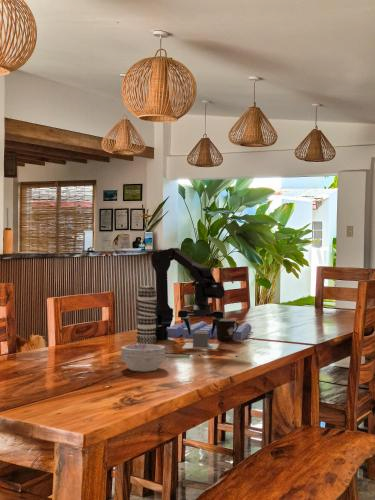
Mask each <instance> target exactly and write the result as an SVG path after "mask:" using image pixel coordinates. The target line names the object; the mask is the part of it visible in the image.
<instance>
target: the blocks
mask: <svg viewBox="0 0 375 500" xmlns="http://www.w3.org/2000/svg"><path fill="white" fill-rule="evenodd" d="M212 324H213V323H210V324H208V323H207V322H206V321H203V320H202V321H200V322H197V323H195V324H192V323H190V327H191V334H190V335H189V332H188V329H187V326H186V323H185V321H182V323H177V324H174V325H172V326H170V327H167V331H168V339H178V338H179V337H181V336H182V339H193V333H194V332H195V331H207V332H209V340H211V339H212V338H213V339H214V340H217V330H216V326H215V329H214V332H213V335H211V332H212ZM236 328H237V324H236V323H235V325H234V331H235V330H236ZM250 332H252V325H251V323H248V322H244V323H242V324H241V325H238V329H237V330H236V332H235V333H234V334H233V340H234V341H243V340H245V338H246V337H247V336H248V335H249V333H250ZM233 340H232V341H233Z"/></svg>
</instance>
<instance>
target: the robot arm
mask: <svg viewBox="0 0 375 500" xmlns="http://www.w3.org/2000/svg"><path fill="white" fill-rule="evenodd" d="M173 260H174V261H175V262H177V263H178V264H179V265H181V266H182V267H183V268H184V269H186V271H188V273H189V276H191V278H192V279H193V282H192V283H191V284H190V286H192V287H194V304H193V311H190V309H183V308H182V309H179V311H178V312H177V317H178V318H180V320H182V321H183V322H185V323H186V326H187V329H188V332H189V335H190V334H191V327H190V324H191V317H194V318H198V317H200V318H205V317H213V319H212V323H211V324H212V332H211V335H213V332H214V329H215V326H216V324H217V322H218V321H220V320H221V319H225V311H224V310H214V311H212V310H211V304H209V299H217V300H221V299H223V298H224V296H225V288H224V286H223V285H222V281H216V279H215V277H214V275H213V273H212V271H211V268H210V267H208V266H207V265H204V264H202V263H197V262H196V261H195V260H194V259H192V258H191V257H190V256H188V255H187V254H186V253H184V252H183V251H182V250H181V249H180V248H178V247H170V248H168V249H164V250H160V251H154V252H153V253H152V254H151V266H152V268H153V270H154V271H155V281H156V282H155V285H156V288H155V289H156V299H157V300H158V302H156V303H157V304H158V305H157V306H156V307H155V308H157V310H155V311H156V312H157V314H155V316H157V318H156V322H155V323H156V329H157V330H156V331H155V332H157V333H156V334H155V335H156V336H157V338H156V340H157V341H156V342H158V341H165V340H166V341H167V340H169V338H168V331H167V328H168V327H172V326H171V325H172V322H173V320H174V317H175V316H174V308H172V307H170V305H169V291H168V290H169V288H168V287H169V286H168V271H169V269H170V267H171V262H172V261H173Z"/></svg>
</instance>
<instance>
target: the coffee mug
mask: <svg viewBox="0 0 375 500" xmlns="http://www.w3.org/2000/svg"><path fill="white" fill-rule="evenodd" d="M235 324H236V326H237V328H236V330H237V329H238V327H239V323H238V322H237V321H236V319H234V318H233V319H231V318H223V319H221V320H220V321H218V322H217V324H216V330H217V339H216V340H217V341H220V342H232V341H233V334H234V333H235V332H236V330H235V331H234V325H235Z"/></svg>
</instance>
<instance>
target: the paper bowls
mask: <svg viewBox="0 0 375 500" xmlns="http://www.w3.org/2000/svg"><path fill="white" fill-rule="evenodd" d="M120 349H121V351H120V362H122V363H125V364H126V367H127V369H128V370H130V371H133V372H141V373H142V372H143V373H145V372H146V373H147V372H153V371H156V370H158V369H159V367H160V365H161V363H164V362H165V361H166V357H165V353H166V347H165V346H164V345H159V344H153V345H151V344H137V343H136V344H127V345H123V346H121V348H120Z"/></svg>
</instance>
